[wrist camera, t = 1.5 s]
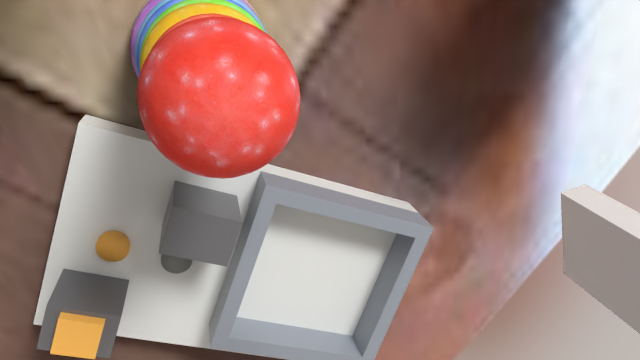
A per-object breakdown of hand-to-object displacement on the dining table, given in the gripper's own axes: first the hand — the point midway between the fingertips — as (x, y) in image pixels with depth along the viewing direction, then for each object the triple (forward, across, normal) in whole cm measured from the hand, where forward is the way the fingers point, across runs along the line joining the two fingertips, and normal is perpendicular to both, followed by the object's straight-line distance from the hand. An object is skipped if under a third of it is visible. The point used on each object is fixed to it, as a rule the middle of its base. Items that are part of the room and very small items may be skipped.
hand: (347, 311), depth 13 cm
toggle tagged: (+20, -13, -8) cm, 25 cm away
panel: (+22, -4, -10) cm, 24 cm away
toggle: (+20, -5, -5) cm, 21 cm away
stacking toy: (+22, -2, +5) cm, 23 cm away
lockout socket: (+20, +1, -12) cm, 23 cm away
